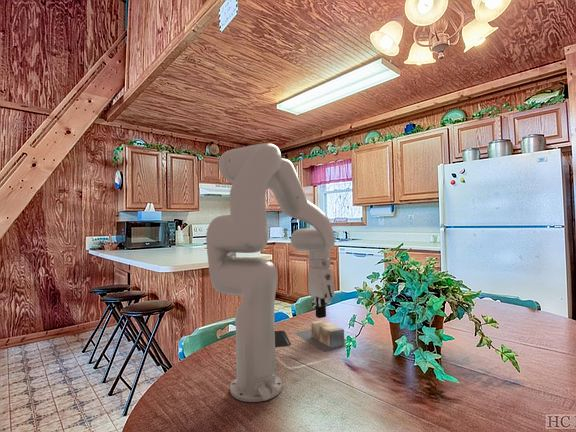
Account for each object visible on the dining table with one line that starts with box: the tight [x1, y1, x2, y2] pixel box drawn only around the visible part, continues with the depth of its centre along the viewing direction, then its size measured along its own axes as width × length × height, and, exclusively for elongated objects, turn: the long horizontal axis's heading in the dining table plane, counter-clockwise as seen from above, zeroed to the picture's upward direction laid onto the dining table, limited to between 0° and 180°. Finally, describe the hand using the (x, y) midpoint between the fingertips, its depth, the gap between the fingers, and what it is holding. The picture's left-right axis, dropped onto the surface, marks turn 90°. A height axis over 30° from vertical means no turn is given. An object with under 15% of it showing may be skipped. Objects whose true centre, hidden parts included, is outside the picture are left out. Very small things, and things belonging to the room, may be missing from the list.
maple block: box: [310, 319, 345, 348], centre depth 106 cm, size 5×5×12 cm
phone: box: [275, 330, 292, 348], centre depth 109 cm, size 8×1×15 cm
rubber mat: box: [294, 329, 347, 353], centre depth 108 cm, size 20×12×1 cm, turn 27°
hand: (320, 316), depth 109 cm, fingers closed
